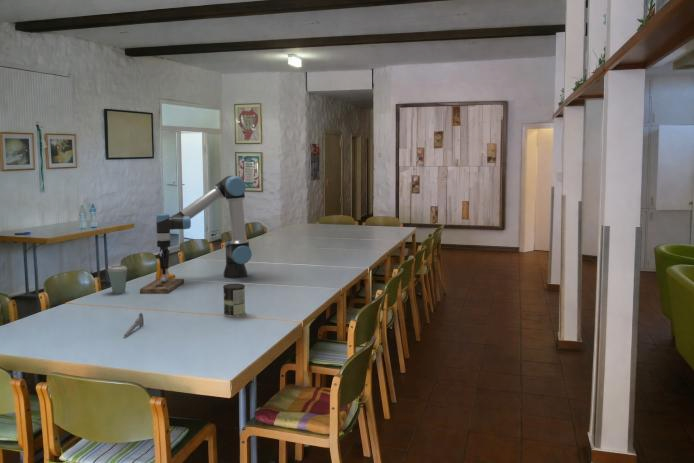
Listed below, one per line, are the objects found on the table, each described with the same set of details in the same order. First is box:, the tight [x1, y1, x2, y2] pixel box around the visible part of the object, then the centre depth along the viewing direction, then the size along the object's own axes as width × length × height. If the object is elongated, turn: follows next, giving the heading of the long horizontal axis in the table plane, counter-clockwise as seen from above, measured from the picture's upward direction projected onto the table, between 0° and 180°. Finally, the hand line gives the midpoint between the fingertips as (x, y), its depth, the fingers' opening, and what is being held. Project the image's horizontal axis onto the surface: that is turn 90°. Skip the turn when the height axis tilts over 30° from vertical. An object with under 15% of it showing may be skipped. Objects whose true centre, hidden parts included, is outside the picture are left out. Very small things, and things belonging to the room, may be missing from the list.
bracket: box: [155, 260, 176, 280], centre depth 375 cm, size 11×7×12 cm, turn 162°
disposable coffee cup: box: [107, 264, 128, 295], centre depth 339 cm, size 11×11×15 cm
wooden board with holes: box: [139, 278, 185, 295], centre depth 352 cm, size 16×30×2 cm, turn 179°
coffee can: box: [222, 283, 246, 318], centre depth 290 cm, size 10×10×14 cm
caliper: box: [122, 312, 145, 339], centre depth 262 cm, size 20×1×6 cm, turn 178°
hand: (164, 279), depth 356 cm, fingers closed
